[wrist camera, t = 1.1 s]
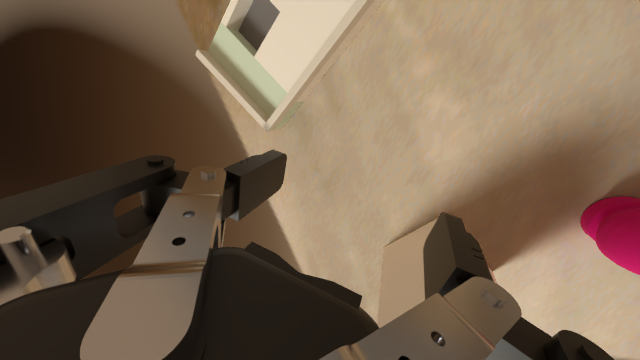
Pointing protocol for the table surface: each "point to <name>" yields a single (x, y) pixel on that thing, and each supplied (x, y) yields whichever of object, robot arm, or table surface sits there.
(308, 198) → the table surface
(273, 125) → the tray
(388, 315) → the milk
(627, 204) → the pepper mill
